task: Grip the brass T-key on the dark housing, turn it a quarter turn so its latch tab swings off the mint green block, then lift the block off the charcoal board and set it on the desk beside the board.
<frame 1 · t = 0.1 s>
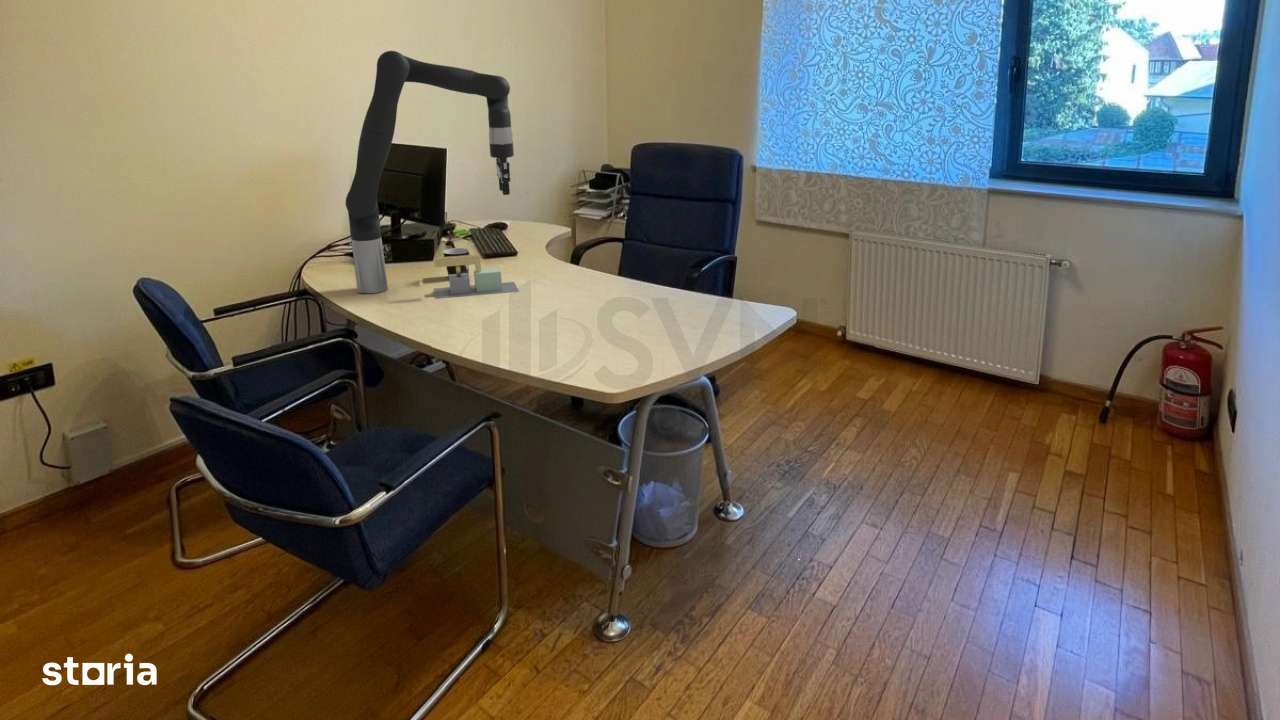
hand: (504, 192, 263), 29 cm above the table, tool pointing down, fingers open, 8 cm apart
t key: (457, 266, 253), point 9 cm above the table, hinge at 0.0°
base board: (476, 293, 258), on the table
mint green block: (488, 288, 258), point 1 cm above the table, touching base board
coffee mug: (462, 279, 274), on the table
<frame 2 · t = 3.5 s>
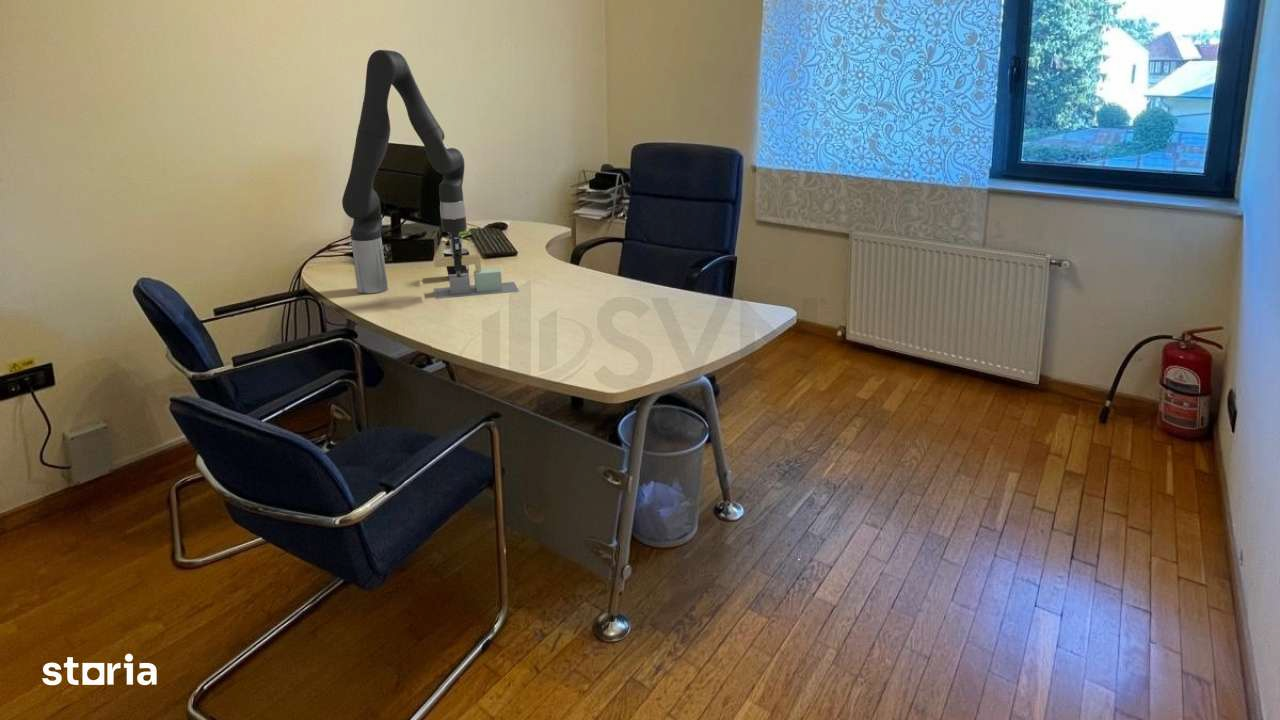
hand: (458, 269, 253), 8 cm above the table, tool pointing down, fingers closed on t key, 2 cm apart
t key: (457, 266, 253), point 9 cm above the table, hinge at 0.0°, touching gripper
everything else where it was.
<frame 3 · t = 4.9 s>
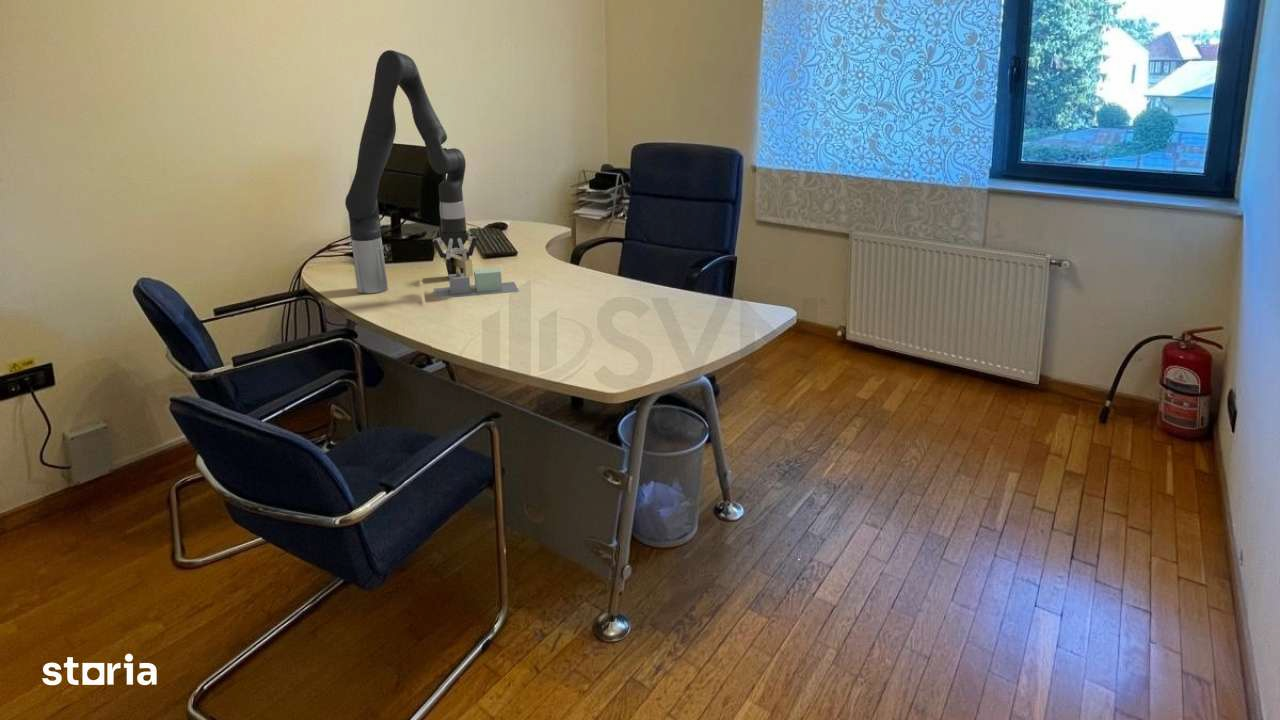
hand: (457, 269, 254), 8 cm above the table, tool pointing down, fingers closed on t key, 3 cm apart
t key: (457, 266, 253), point 9 cm above the table, hinge at -64.8°, touching gripper
everything else where it was.
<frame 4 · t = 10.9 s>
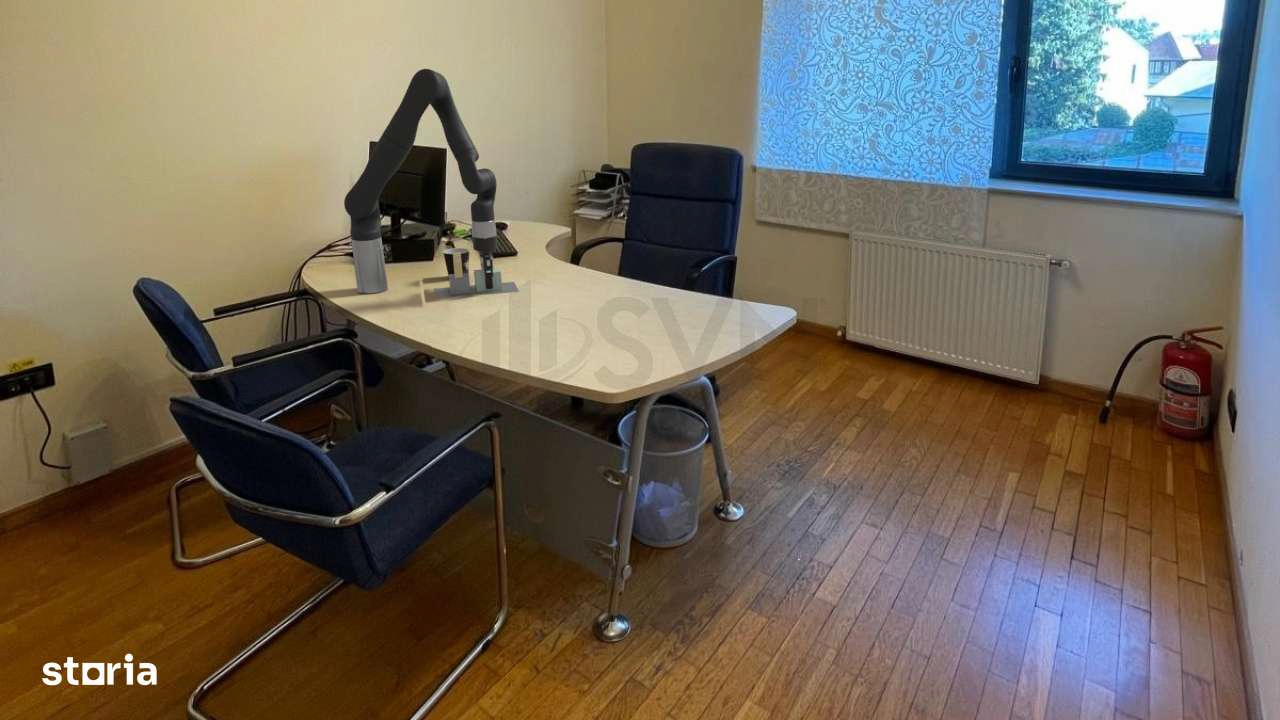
hand: (488, 286, 258), 2 cm above the table, tool pointing down, fingers closed on mint green block, 5 cm apart
t key: (457, 266, 253), point 9 cm above the table, hinge at -92.9°
mint green block: (488, 288, 258), point 1 cm above the table, touching base board, gripper
everything else where it was.
when the fingers open (3 cm above the table, at t = 17.6 s): mint green block drops 2 cm, on the table.
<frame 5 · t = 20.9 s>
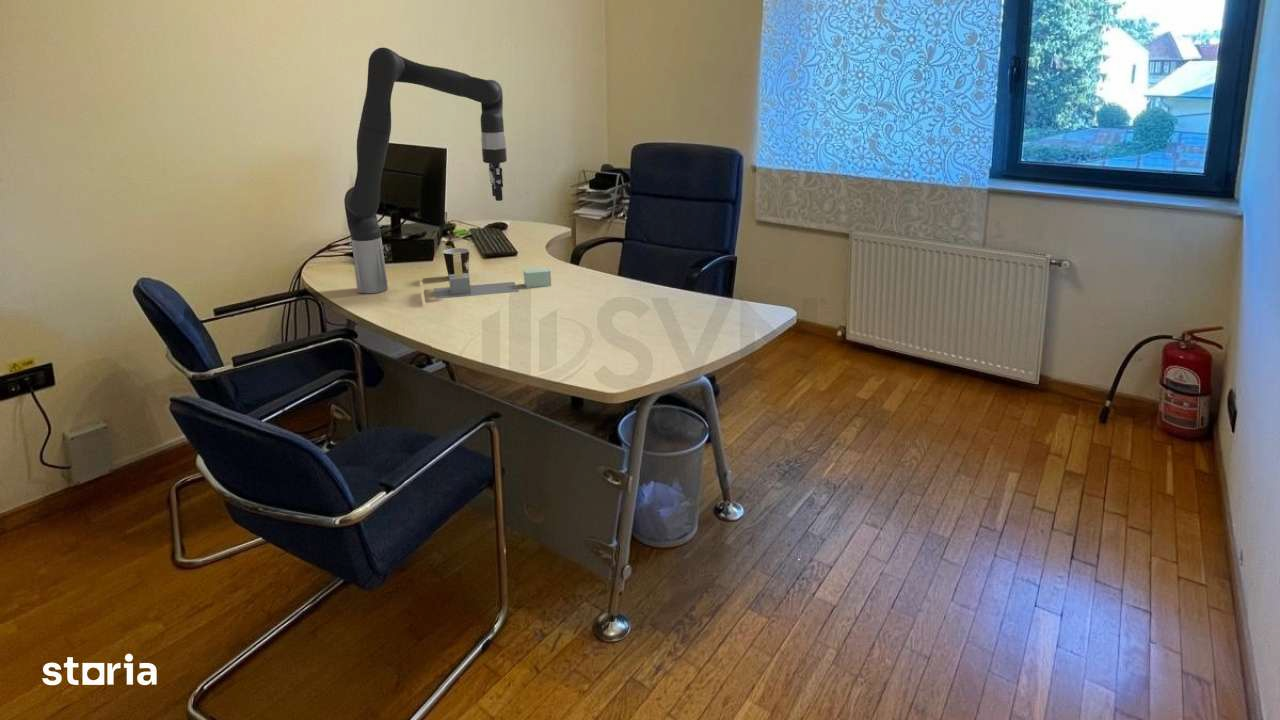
hand: (497, 198, 259), 28 cm above the table, tool pointing down, fingers open, 8 cm apart
mint green block: (537, 288, 263), on the table
everything else where it was.
at the end: t key at -93° (first picture: +0°); mint green block inside the target area (0.1 cm from its centre), on the table; mint green block tilted 0° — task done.
